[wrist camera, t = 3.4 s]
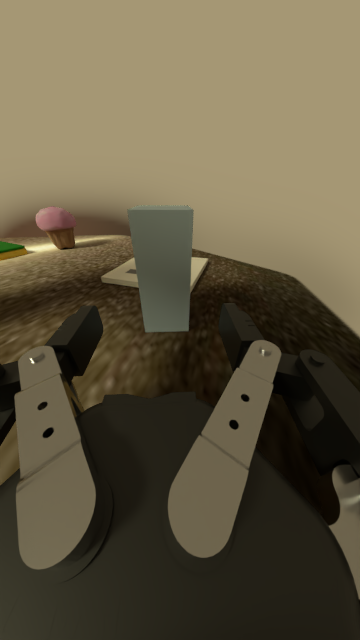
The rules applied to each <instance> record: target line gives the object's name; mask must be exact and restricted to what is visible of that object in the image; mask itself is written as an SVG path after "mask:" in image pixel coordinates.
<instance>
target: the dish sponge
mask: <svg viewBox="0 0 360 640" xmlns="http://www.w3.org/2000/svg"><path fill="white" fill-rule="evenodd" d="M25 254H28V253H27V251H26V249H25V247H24V246H22V245H17V244H12V243H6V242H1V241H0V260H4V259H8V258H12V257H17V256H21V255H25Z"/></svg>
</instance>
